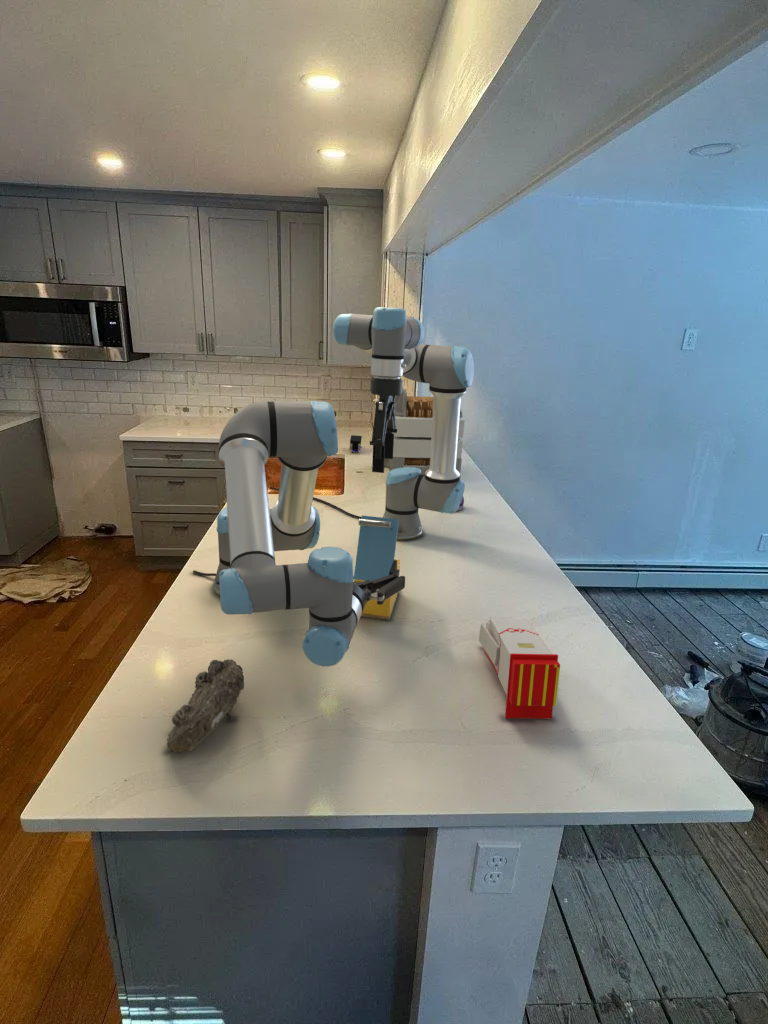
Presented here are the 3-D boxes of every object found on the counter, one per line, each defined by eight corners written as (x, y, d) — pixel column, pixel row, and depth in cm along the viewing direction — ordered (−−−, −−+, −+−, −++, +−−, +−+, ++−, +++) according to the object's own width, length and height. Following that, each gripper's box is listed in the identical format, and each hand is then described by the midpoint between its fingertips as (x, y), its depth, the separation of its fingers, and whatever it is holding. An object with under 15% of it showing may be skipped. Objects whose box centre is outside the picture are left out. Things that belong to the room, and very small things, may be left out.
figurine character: (361, 456, 305) (361, 447, 319) (361, 443, 302) (362, 434, 315) (348, 456, 305) (350, 446, 318) (349, 442, 302) (350, 433, 315)
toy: (525, 603, 136) (569, 660, 107) (520, 654, 139) (562, 725, 109) (475, 601, 135) (505, 659, 106) (471, 653, 138) (499, 724, 109)
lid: (362, 515, 145) (356, 510, 137) (398, 519, 144) (395, 514, 135) (354, 579, 143) (347, 577, 135) (391, 583, 141) (387, 582, 133)
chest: (365, 587, 160) (366, 555, 157) (398, 592, 159) (400, 559, 156) (352, 615, 146) (353, 580, 143) (389, 619, 145) (391, 585, 141)
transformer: (382, 463, 289) (386, 382, 275) (445, 464, 293) (451, 384, 279) (390, 482, 257) (394, 392, 243) (460, 483, 261) (468, 394, 247)
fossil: (192, 660, 117) (244, 628, 112) (224, 691, 120) (276, 661, 115) (142, 746, 98) (202, 712, 93) (182, 779, 101) (242, 748, 96)
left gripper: (282, 616, 112) (312, 570, 132) (406, 632, 109) (419, 583, 128) (281, 582, 110) (312, 541, 130) (408, 597, 106) (421, 553, 126)
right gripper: (394, 384, 121) (389, 480, 128) (409, 372, 144) (404, 454, 151) (359, 382, 122) (357, 477, 129) (380, 371, 145) (377, 452, 152)
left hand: (365, 562), depth 129 cm, fingers open, 13 cm apart
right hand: (382, 465), depth 140 cm, fingers open, 13 cm apart
